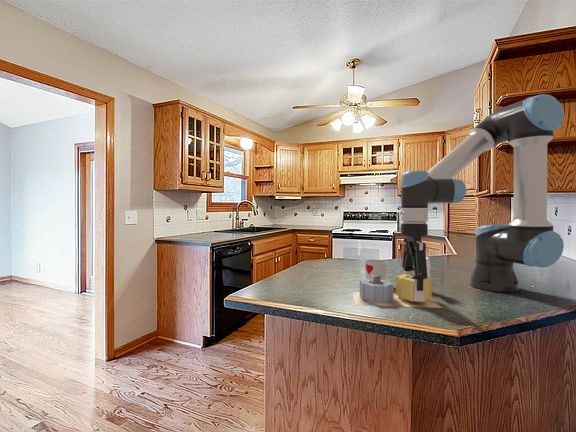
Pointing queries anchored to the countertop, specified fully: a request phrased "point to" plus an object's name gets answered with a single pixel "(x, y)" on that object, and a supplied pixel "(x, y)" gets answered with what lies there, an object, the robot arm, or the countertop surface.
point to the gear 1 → (376, 291)
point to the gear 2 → (411, 287)
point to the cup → (376, 268)
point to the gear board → (396, 301)
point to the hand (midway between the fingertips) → (413, 296)
